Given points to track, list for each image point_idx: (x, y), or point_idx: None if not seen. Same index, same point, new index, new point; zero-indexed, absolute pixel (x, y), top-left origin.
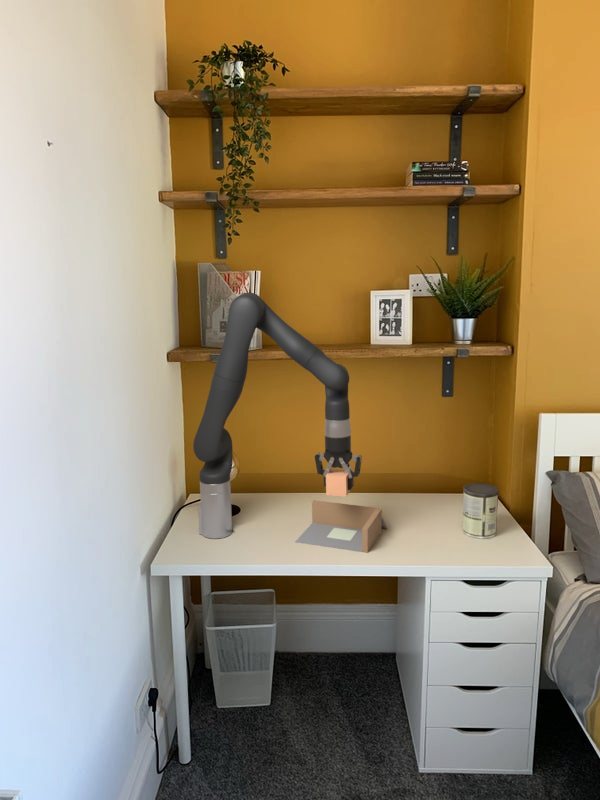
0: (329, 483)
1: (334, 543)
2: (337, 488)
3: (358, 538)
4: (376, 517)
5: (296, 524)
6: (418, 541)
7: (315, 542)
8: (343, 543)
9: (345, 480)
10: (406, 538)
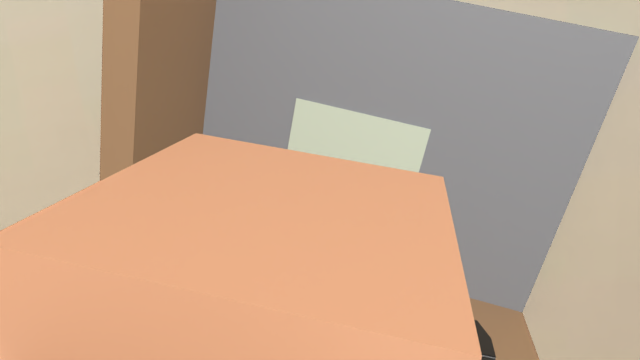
0: (390, 236)
1: (380, 49)
2: (270, 182)
3: (259, 130)
4: (104, 169)
5: (612, 320)
6: (21, 154)
7: (496, 48)
8: (330, 56)
9: (57, 210)
10: (70, 180)
